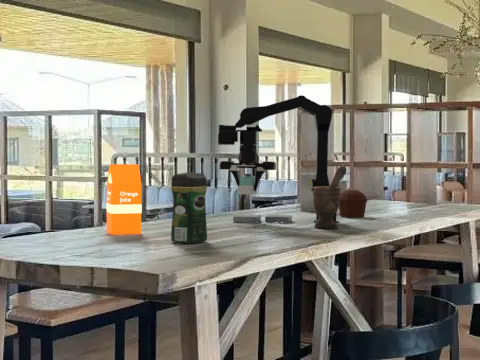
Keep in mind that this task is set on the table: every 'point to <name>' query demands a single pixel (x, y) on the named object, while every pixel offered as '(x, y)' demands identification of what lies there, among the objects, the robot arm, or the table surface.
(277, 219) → the stand
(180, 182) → the coffee jar
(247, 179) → the housing
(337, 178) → the mortar and pestle
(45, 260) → the table surface
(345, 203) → the muffin
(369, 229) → the table surface
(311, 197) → the circuit breaker
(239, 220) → the stand
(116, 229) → the orange juice
